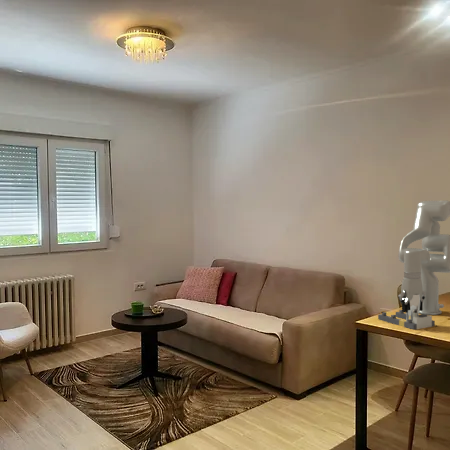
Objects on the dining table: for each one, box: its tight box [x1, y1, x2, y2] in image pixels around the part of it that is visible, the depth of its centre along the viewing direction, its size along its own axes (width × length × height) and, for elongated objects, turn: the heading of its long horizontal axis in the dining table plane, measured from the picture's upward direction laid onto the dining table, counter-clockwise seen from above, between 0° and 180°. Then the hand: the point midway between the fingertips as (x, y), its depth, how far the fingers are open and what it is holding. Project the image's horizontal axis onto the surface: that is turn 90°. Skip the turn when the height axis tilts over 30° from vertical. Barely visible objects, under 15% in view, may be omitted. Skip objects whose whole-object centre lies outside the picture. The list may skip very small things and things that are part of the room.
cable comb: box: [377, 309, 436, 331], centre depth 220 cm, size 14×22×6 cm, turn 26°
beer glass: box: [405, 294, 420, 323], centre depth 217 cm, size 7×7×15 cm
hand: (412, 311), depth 217 cm, fingers open, 9 cm apart
